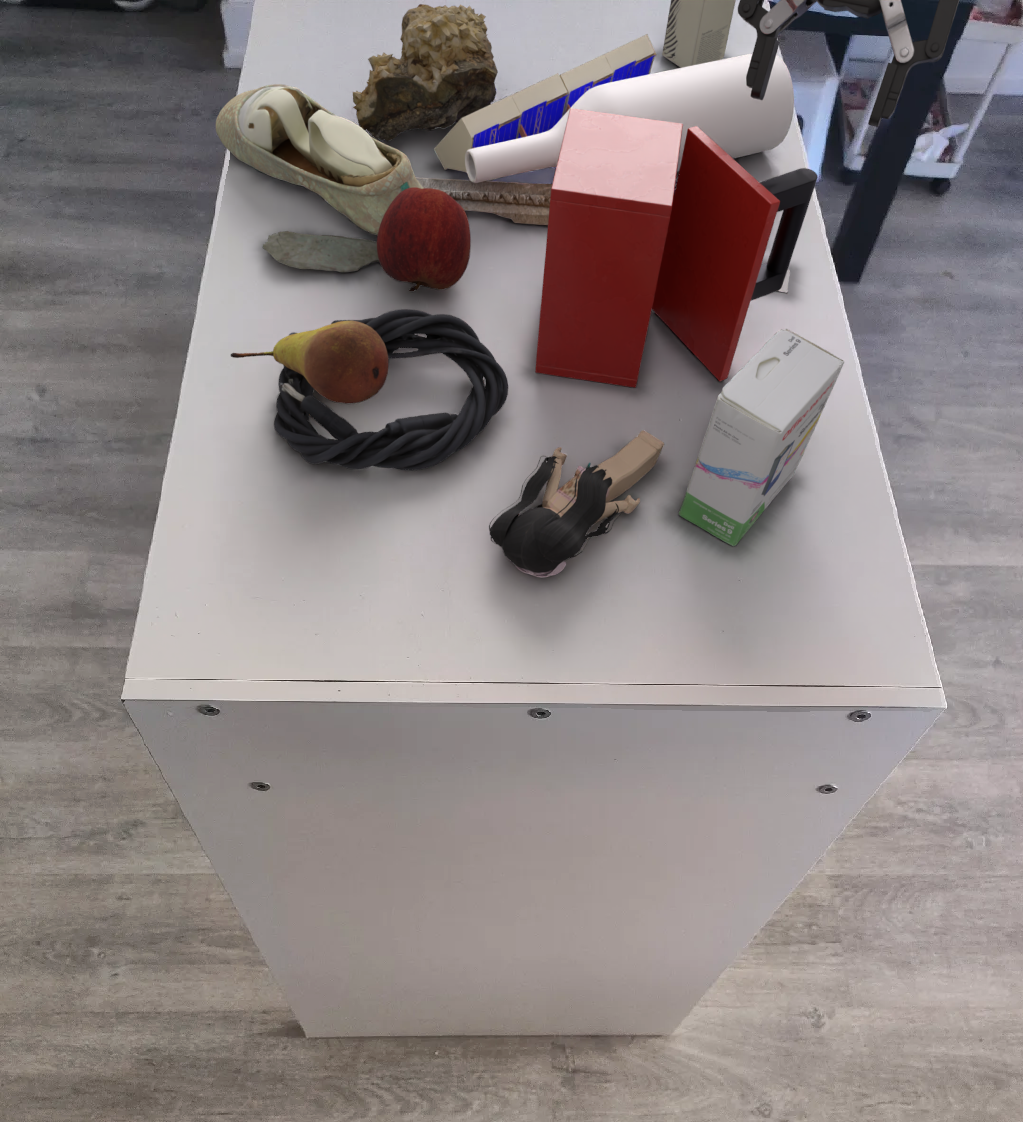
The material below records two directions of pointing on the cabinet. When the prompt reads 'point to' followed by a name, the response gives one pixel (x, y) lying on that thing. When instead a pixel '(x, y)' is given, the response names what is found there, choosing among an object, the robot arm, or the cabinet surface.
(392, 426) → the cable
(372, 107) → the mineral specimen
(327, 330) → the fruit
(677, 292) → the door
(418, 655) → the cabinet surface
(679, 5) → the box
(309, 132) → the ballet flat
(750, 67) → the robot arm
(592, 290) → the cabinet
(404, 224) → the apple
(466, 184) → the fossil
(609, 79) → the building
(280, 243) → the stone
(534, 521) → the toy figure
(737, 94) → the bottle
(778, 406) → the ink box
